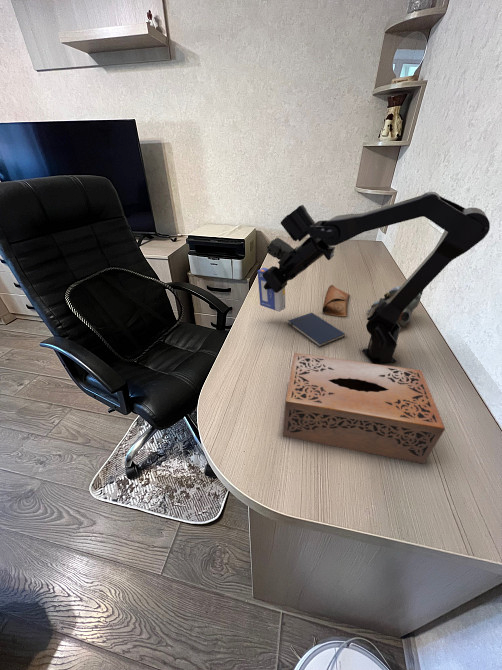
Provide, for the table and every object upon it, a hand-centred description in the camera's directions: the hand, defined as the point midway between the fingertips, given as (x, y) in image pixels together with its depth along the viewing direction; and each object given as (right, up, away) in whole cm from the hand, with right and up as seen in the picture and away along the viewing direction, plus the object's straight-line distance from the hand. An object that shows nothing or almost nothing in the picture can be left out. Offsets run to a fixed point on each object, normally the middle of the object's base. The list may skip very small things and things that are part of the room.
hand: (267, 286), depth 83 cm
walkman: (+2, -6, +4) cm, 7 cm away
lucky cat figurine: (+41, -9, +10) cm, 44 cm away
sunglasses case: (+26, -4, +19) cm, 32 cm away
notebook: (+15, -13, +4) cm, 21 cm away
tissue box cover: (+16, -33, -24) cm, 44 cm away
